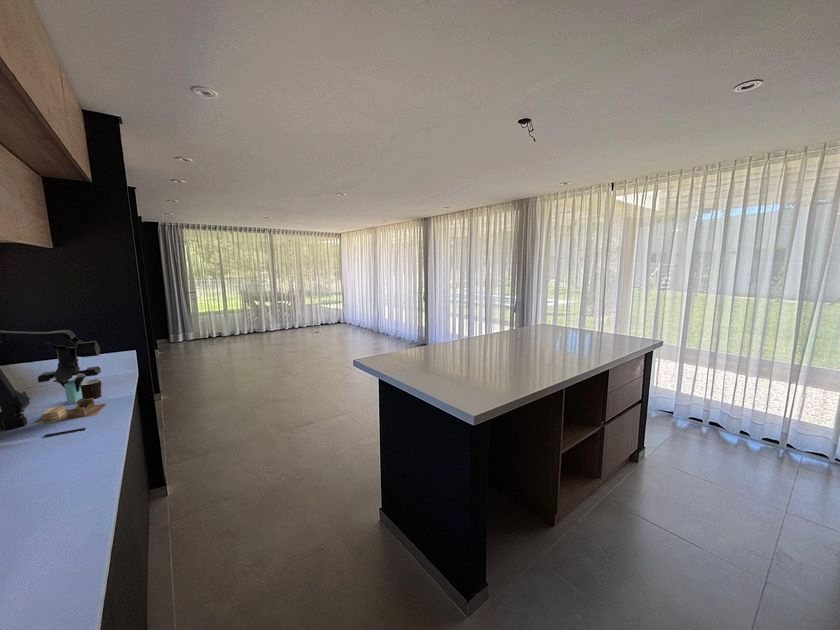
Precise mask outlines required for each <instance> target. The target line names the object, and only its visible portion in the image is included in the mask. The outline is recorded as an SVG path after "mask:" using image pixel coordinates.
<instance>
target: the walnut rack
mask: <svg viewBox="0 0 840 630" xmlns="http://www.w3.org/2000/svg"><path fill="white" fill-rule="evenodd" d="M94 400H95V399H93V398H91V399H84V400H83V399H79V400H78V401H77V402H76V404H77V405H76V406H75V407H73V408H67V409H66V408H65V409H66V413H65V414H63V415H62V416H61V417H60V418H58V419H52V420H46V421H43V417H41V419H40V420H39V421H37V422H36V423H35V424H34V426H38V425H44V424H50V423H51V424H52V423H56V422H62V421H68V420H69V421H70V420H75V419H81V418H87V417H93V416H94V417H95V416H97V415H98V414H99V413H100V412H101V410H103V409H104V408H105V406H106V405H107V404H108V403H107V402H106V403H100V404H95V401H94Z"/></svg>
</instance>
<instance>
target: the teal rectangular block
mask: <svg viewBox="0 0 840 630" xmlns="http://www.w3.org/2000/svg"><path fill="white" fill-rule="evenodd" d="M75 378H76V377H74V378H73V377H72V378H71V379H68V380H69V381H68V382H67V383H66V384H64V386H65V388H64V390H65V396H66V402H67V404H68V405H70V404H77V401H78V400H81V399H82V391H81V387H80V390H79V392H77V389H76V381H75Z"/></svg>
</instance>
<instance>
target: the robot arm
mask: <svg viewBox="0 0 840 630" xmlns="http://www.w3.org/2000/svg"><path fill="white" fill-rule="evenodd" d="M2 342H22V343H23V342H27V343H29V342H31V343H33V342H34V343H45V344H49V345H53V346H52V347H51V348H49V352H53V351H56V354H57V361H58V363H57V369H56V370H55V371H54V370H53V371H46V372H43V373H40V374H39V376H37V382H38V383H45V382H50V380H52V379H53V380H52V381H53V383H58V384H59V385H60V386H62V387H63V388H64V389H65V386H64V384H66V383H67V382H68V381H69V380H71V379H73V377H74V376H76V377H74V378H75V381H76V389H77V392H79V390H80V387H81V384H82V381H84V379H85V378H86V377H94V376H97V375H99V374H100V373H101V372H102V370H101V367H99V366H90V367H87V368H86V369H84V370H81V367H79V362H78V361H79V358H78V357H80V358H88V357H97V356H100V353H101V348H100V346H99V344H98V342H97V340H93V341H87V342H86V341H83V340H81V339H80V338H79V337H77V335H76V334H75V332H73V331H72V330H70V329H61V330H53V331H15V330H4V329H3V330H0V344H1V343H2ZM30 400H31V397H29V396H28V395H27V392H26V391H25V390H24V391H21V392H19V391H18V390H16V389H15V387H14V386H13V385H12V383H11V381H10V380H9V379H8V378H7V376H6V374H5V373H4V372H3V370H2V369H1V367H0V410H1V411H0V431H12V430H16V429H18V428H19V429H20V428H23V427H25V426H27V424H28V419H27V416H25V414H24V412H25V410H26V408H27V407H29V406H30V404H31V403H30Z"/></svg>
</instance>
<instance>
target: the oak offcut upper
mask: <svg viewBox="0 0 840 630" xmlns="http://www.w3.org/2000/svg"><path fill="white" fill-rule="evenodd" d="M64 409H66V407H65V405H60V406H54V407H49V408H47V409H46V410H45V411H44V412H43V413H41V418H43V417H49V416H55V415H59V414H60V413H61V412H62V411H63V410H64Z"/></svg>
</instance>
